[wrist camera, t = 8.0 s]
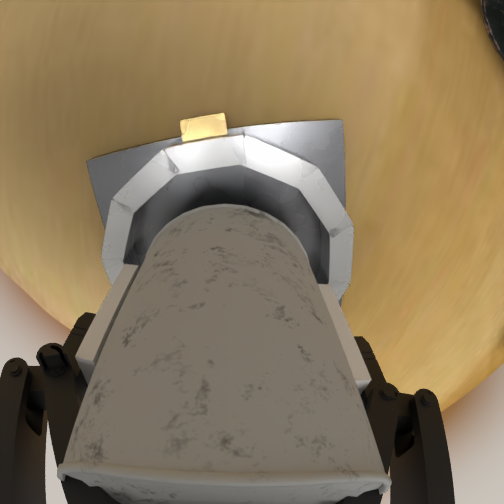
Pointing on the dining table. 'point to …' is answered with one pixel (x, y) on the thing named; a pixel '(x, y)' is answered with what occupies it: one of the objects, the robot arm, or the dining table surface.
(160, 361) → the grey speckled cylinder
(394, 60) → the dining table surface
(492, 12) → the teapot
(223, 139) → the socket
